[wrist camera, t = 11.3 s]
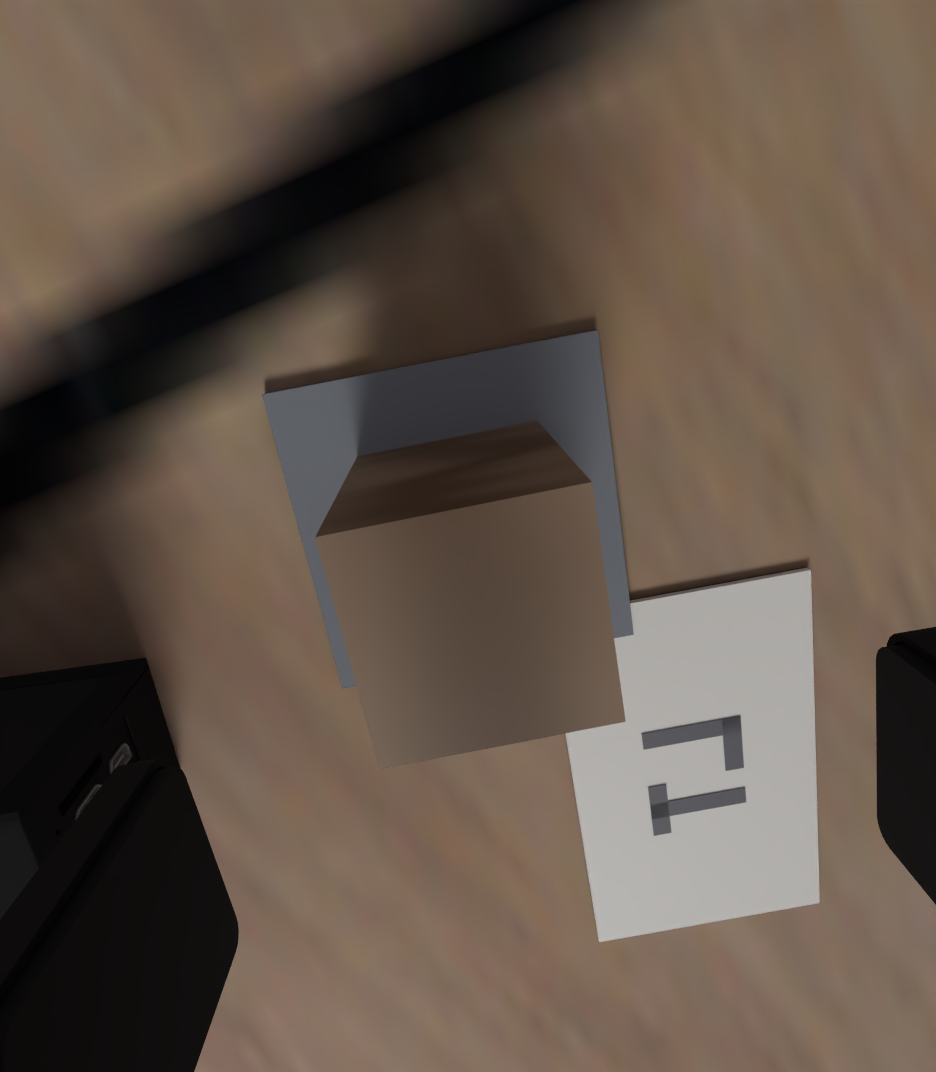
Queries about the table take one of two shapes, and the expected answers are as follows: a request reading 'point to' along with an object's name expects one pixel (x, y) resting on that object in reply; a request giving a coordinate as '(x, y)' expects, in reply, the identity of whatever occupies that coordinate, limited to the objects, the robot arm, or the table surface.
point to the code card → (704, 761)
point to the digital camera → (67, 753)
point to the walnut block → (472, 594)
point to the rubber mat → (444, 412)
